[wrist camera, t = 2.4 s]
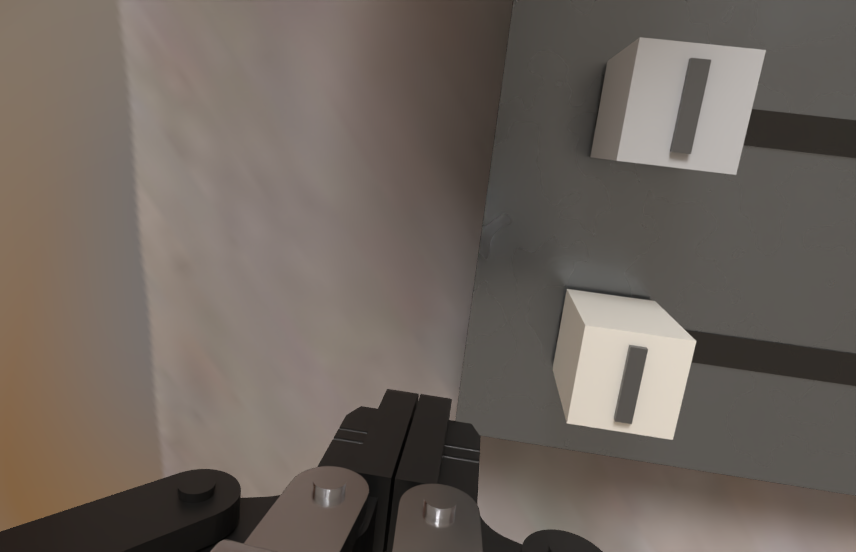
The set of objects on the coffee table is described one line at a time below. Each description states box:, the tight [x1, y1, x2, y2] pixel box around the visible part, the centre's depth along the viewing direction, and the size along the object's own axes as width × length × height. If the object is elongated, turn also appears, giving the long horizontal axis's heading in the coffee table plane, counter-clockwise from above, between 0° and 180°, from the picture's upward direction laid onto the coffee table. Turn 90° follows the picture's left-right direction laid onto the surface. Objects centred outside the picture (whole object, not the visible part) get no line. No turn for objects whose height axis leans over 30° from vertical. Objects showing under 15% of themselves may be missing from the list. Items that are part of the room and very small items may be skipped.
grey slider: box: [590, 37, 766, 175], centre depth 17 cm, size 3×3×5 cm
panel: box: [455, 0, 856, 496], centre depth 21 cm, size 18×26×6 cm
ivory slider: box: [553, 289, 696, 440], centre depth 19 cm, size 3×3×5 cm
